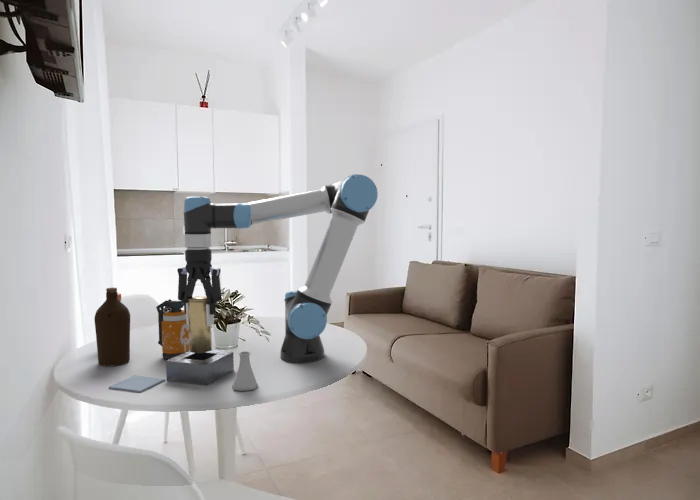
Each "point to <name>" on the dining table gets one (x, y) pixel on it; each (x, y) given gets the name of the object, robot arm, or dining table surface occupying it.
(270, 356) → the dining table surface
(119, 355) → the olive oil
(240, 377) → the flask
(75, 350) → the dining table surface
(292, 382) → the dining table surface
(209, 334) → the gold metal cylinder
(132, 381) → the mat
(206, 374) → the box
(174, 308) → the canister
